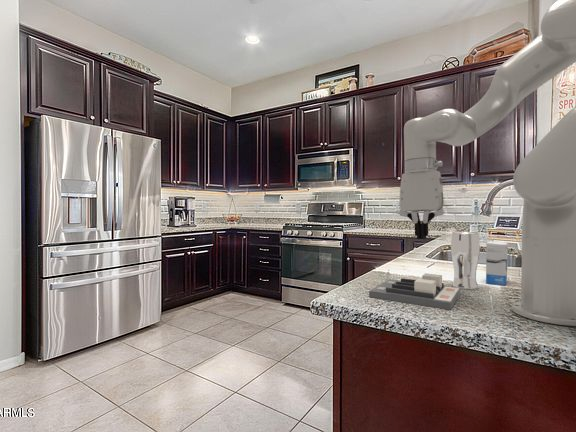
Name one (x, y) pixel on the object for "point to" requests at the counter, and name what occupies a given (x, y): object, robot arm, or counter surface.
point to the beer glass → (465, 259)
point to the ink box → (496, 262)
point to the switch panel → (416, 294)
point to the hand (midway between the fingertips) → (421, 238)
